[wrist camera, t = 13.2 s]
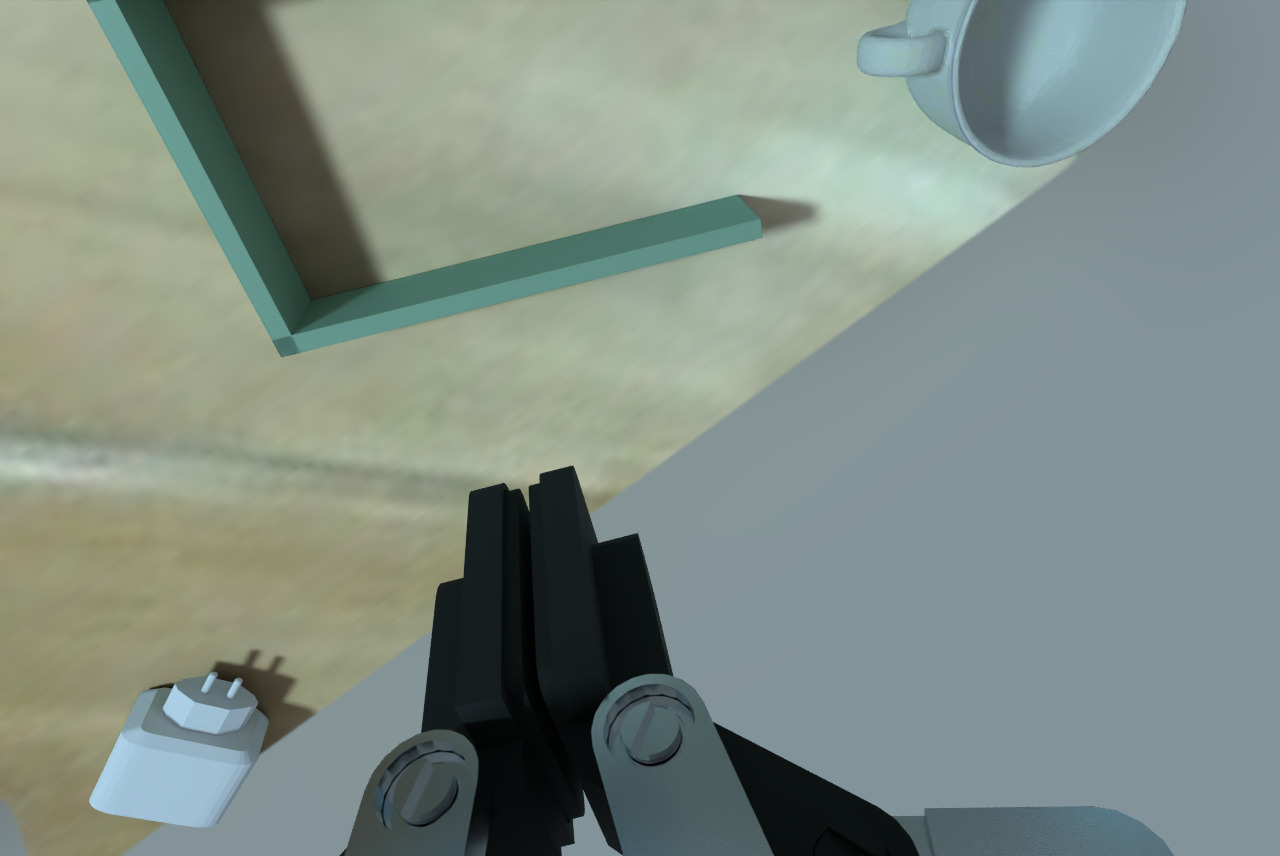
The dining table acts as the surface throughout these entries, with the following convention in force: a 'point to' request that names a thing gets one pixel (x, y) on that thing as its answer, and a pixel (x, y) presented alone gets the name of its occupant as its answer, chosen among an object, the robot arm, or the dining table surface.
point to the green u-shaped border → (301, 324)
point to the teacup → (1026, 68)
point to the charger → (183, 753)
